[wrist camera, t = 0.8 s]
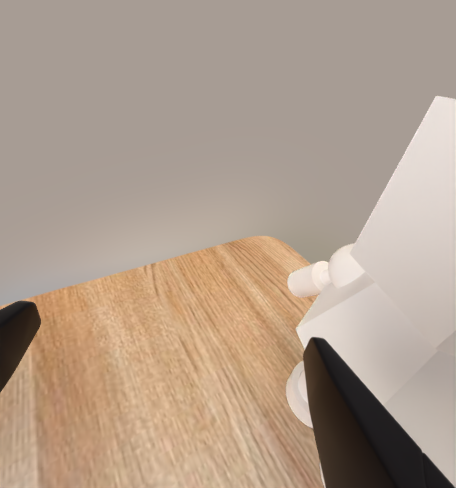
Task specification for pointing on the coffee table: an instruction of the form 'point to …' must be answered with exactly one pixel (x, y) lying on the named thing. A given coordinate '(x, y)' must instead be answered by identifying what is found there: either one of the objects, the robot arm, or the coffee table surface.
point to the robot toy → (397, 296)
